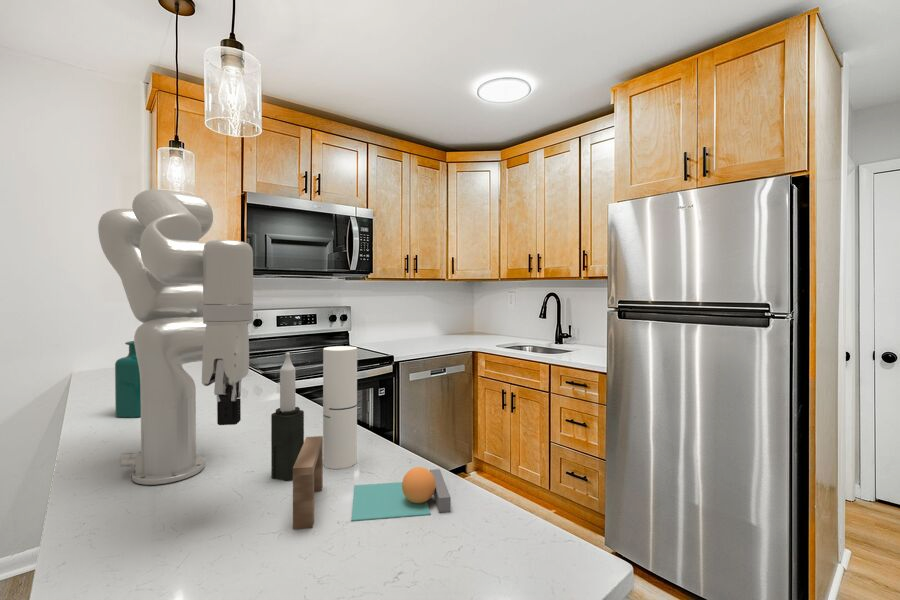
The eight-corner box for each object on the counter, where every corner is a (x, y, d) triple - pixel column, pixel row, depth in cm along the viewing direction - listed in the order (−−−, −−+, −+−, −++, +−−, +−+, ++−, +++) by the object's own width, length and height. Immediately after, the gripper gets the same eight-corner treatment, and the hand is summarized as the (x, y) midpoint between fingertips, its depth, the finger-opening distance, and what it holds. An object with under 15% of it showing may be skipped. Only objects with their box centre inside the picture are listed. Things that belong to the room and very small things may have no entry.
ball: (427, 515, 77) (396, 500, 76) (424, 500, 83) (395, 486, 82) (443, 483, 77) (413, 468, 77) (439, 470, 83) (410, 456, 82)
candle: (306, 471, 92) (306, 351, 92) (289, 481, 87) (289, 354, 87) (286, 468, 94) (285, 350, 93) (268, 478, 89) (268, 353, 88)
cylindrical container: (348, 470, 93) (348, 351, 92) (317, 467, 95) (317, 349, 94) (361, 457, 100) (362, 346, 99) (332, 455, 101) (332, 345, 101)
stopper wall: (438, 512, 76) (438, 498, 76) (429, 482, 88) (429, 469, 88) (450, 511, 76) (450, 497, 76) (439, 481, 88) (439, 469, 88)
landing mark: (351, 521, 73) (351, 519, 73) (354, 486, 86) (354, 485, 86) (430, 514, 75) (430, 513, 75) (421, 481, 88) (421, 480, 88)
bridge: (292, 529, 70) (292, 468, 70) (306, 487, 85) (306, 436, 85) (312, 527, 71) (312, 467, 71) (322, 486, 86) (322, 436, 85)
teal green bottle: (140, 418, 129) (140, 342, 128) (111, 417, 129) (111, 342, 128) (163, 409, 139) (162, 338, 138) (136, 408, 139) (135, 338, 138)
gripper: (219, 312, 81) (219, 412, 82) (186, 317, 67) (186, 439, 67) (262, 312, 83) (263, 410, 83) (239, 317, 68) (240, 436, 69)
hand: (229, 423), depth 75 cm, fingers closed
